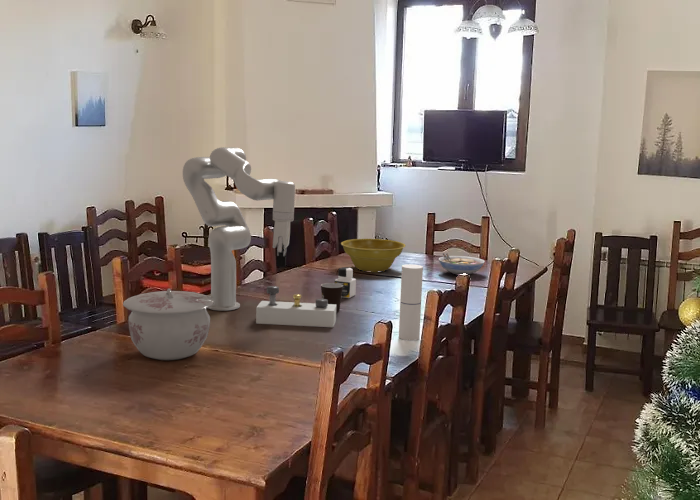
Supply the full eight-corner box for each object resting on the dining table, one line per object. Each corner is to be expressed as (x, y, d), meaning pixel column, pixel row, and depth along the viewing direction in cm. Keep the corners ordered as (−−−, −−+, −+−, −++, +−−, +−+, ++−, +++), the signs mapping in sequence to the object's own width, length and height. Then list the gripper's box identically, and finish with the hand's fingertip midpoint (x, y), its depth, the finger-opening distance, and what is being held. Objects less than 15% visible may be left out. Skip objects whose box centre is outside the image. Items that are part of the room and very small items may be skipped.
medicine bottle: (333, 296, 320) (334, 268, 318) (340, 293, 327) (341, 265, 325) (349, 298, 317) (350, 270, 315) (355, 295, 324) (356, 267, 322)
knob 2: (314, 321, 275) (314, 301, 274) (315, 318, 279) (316, 298, 278) (326, 322, 275) (327, 301, 273) (327, 319, 279) (328, 299, 278)
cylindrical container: (405, 341, 257) (409, 268, 253) (394, 335, 264) (398, 265, 259) (423, 339, 261) (427, 267, 256) (412, 333, 267) (415, 263, 263)
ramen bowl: (488, 280, 364) (489, 263, 363) (440, 278, 364) (441, 262, 363) (479, 270, 389) (480, 254, 387) (435, 268, 389) (436, 253, 388)
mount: (256, 323, 274) (256, 307, 273) (261, 316, 284) (261, 300, 283) (333, 327, 272) (333, 311, 271) (335, 320, 282) (336, 304, 281)
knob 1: (265, 308, 275) (265, 288, 274) (267, 305, 280) (267, 285, 278) (277, 309, 275) (277, 288, 274) (279, 306, 279) (279, 286, 278)
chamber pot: (169, 374, 217) (169, 303, 213) (104, 356, 231) (102, 289, 228) (234, 351, 240) (234, 287, 237) (171, 336, 254) (170, 275, 251)
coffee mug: (339, 313, 291) (340, 288, 289) (317, 312, 293) (318, 286, 291) (345, 307, 302) (346, 282, 301) (324, 305, 304) (325, 280, 302)
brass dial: (292, 309, 275) (292, 295, 275) (293, 307, 278) (293, 294, 278) (300, 309, 275) (300, 296, 274) (301, 307, 278) (301, 294, 277)
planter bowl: (383, 279, 358) (384, 251, 356) (327, 270, 376) (328, 243, 373) (415, 269, 385) (417, 243, 383) (362, 261, 402) (363, 236, 400)
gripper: (275, 212, 279) (273, 261, 282) (269, 218, 264) (267, 269, 268) (296, 213, 279) (293, 262, 282) (291, 219, 264) (288, 271, 268)
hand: (281, 266), depth 275 cm, fingers closed
